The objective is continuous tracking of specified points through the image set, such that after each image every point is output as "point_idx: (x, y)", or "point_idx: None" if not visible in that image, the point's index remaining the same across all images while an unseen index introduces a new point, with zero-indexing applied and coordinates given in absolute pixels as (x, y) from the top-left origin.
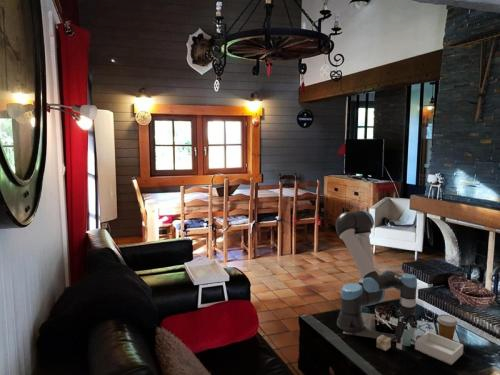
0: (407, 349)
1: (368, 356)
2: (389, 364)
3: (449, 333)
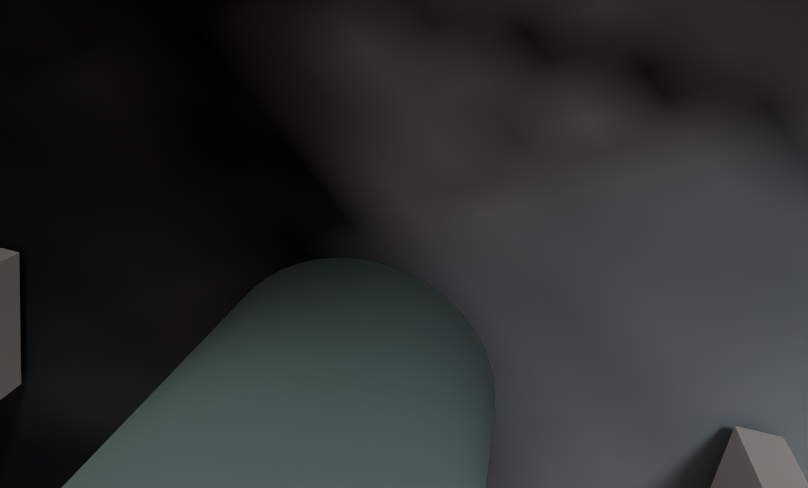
0: None
1: None
2: None
3: None
